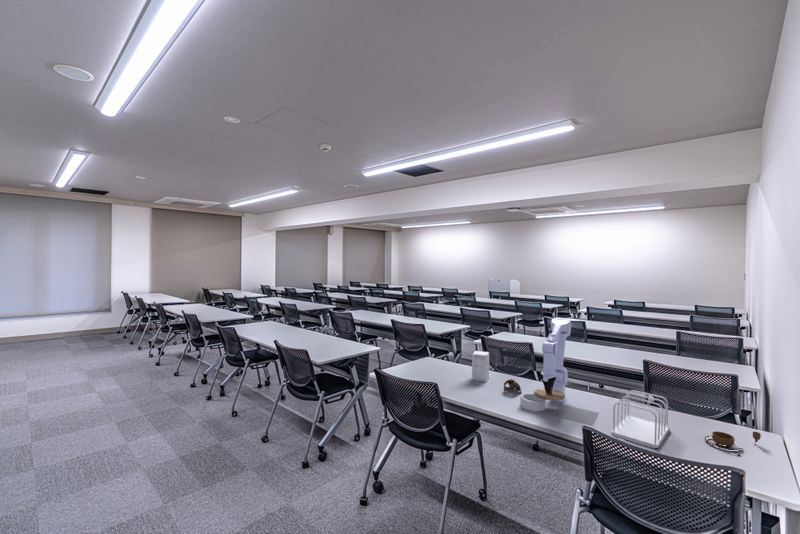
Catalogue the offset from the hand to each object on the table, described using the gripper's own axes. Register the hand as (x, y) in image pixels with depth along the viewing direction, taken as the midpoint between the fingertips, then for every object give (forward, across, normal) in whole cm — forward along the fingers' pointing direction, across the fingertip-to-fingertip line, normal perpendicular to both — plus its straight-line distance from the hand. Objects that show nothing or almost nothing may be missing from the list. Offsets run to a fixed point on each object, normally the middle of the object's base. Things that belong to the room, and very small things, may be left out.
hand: (548, 391), depth 190 cm
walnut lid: (+2, 0, 0) cm, 2 cm away
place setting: (+10, -9, +73) cm, 74 cm away
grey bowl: (+9, +1, -7) cm, 12 cm away
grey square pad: (+9, -2, +13) cm, 16 cm away
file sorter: (+10, 0, +40) cm, 41 cm away
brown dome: (+10, -14, -24) cm, 29 cm away
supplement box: (+10, -24, -48) cm, 55 cm away
